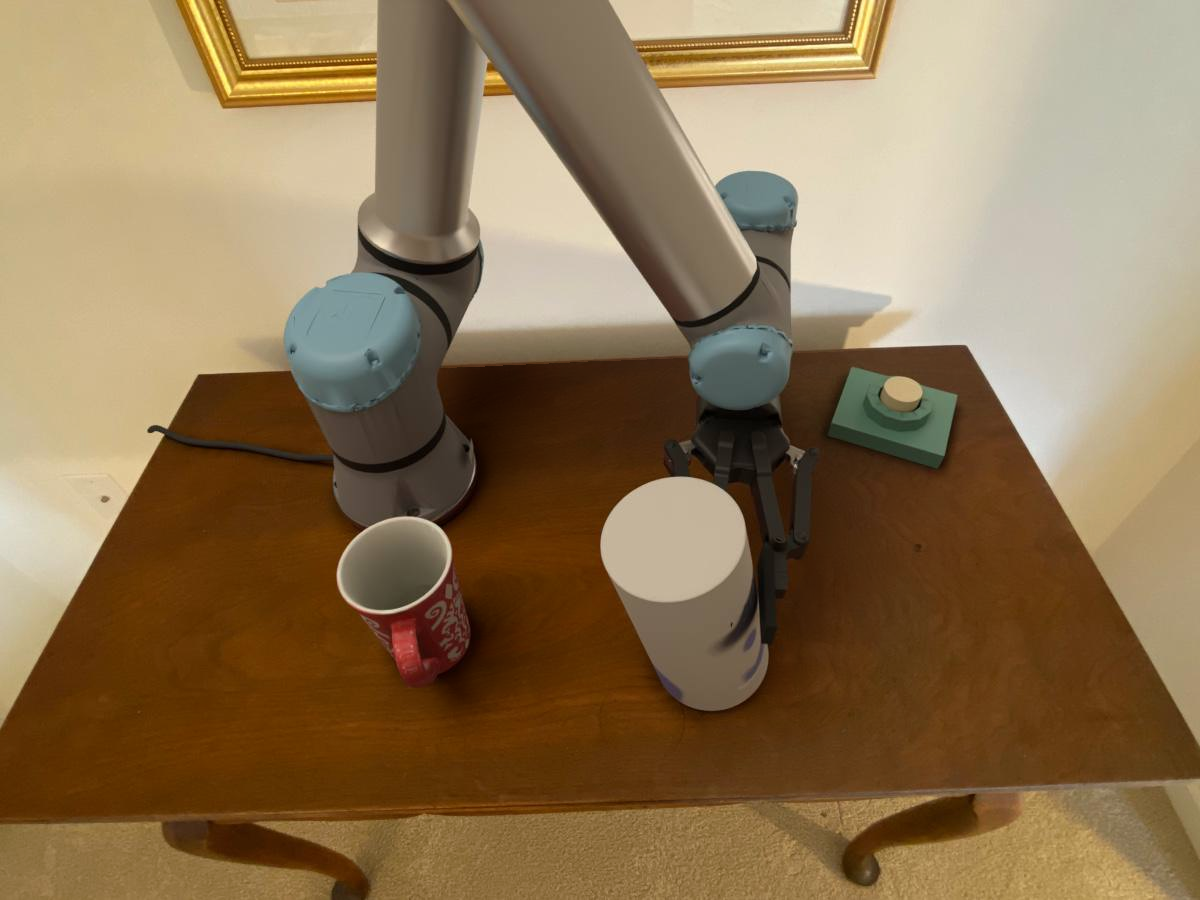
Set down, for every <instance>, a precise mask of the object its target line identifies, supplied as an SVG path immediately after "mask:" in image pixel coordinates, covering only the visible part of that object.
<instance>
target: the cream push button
mask: <svg viewBox="0 0 1200 900" xmlns="http://www.w3.org/2000/svg"><path fill="white" fill-rule="evenodd" d="M896 376H897V377H892V378H890V379H888V380H887V381H886V382H885V384H884V387H883V390H882V392H881V395H880V399H881V402H882V403H883V404H884V405H885V406H886V407H888V408H889V409H890V410H894V411H897V412H901V413H906V412H911V411H913V410H915V409H916V407H917V406H918V403H919V401H920V399H921V396H922V393H923V392H922V388H921V386H920V385H921V384H920V383H919V382H917V381H916V380H914V379H912V378H910V377H907V376H902V375H901V376H900V375H896ZM918 383H919V384H920V385H919V384H918Z"/></svg>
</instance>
